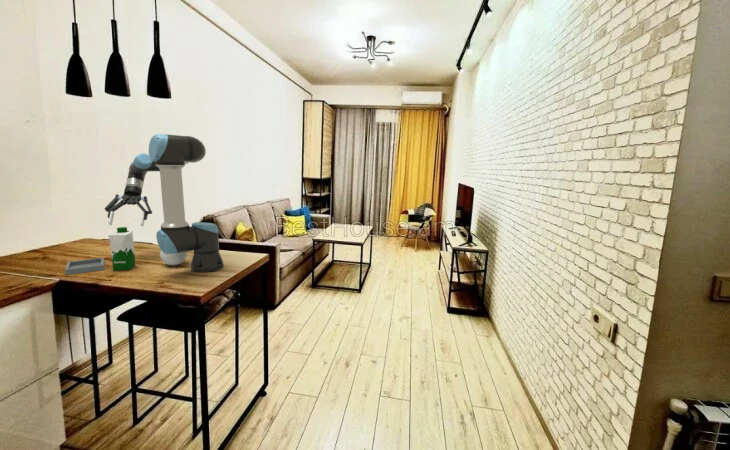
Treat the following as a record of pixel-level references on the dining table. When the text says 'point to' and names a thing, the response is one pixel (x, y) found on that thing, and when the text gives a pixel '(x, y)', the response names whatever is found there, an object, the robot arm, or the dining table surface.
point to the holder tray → (84, 266)
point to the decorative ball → (173, 258)
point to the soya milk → (122, 249)
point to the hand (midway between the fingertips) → (126, 224)
